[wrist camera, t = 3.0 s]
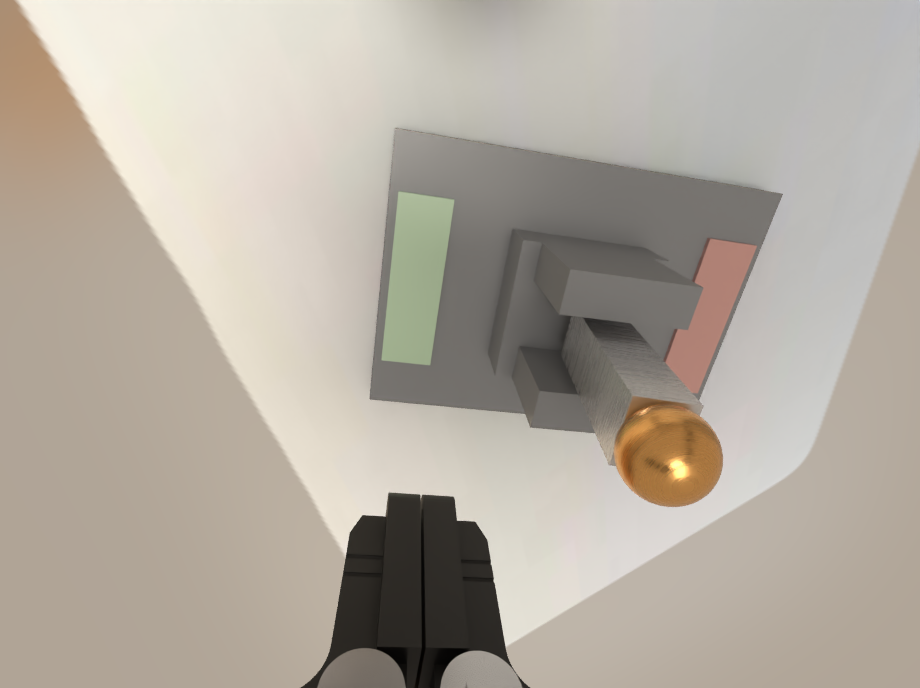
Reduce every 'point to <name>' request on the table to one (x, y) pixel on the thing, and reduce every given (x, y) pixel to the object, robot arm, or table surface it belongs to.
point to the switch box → (548, 272)
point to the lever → (642, 413)
